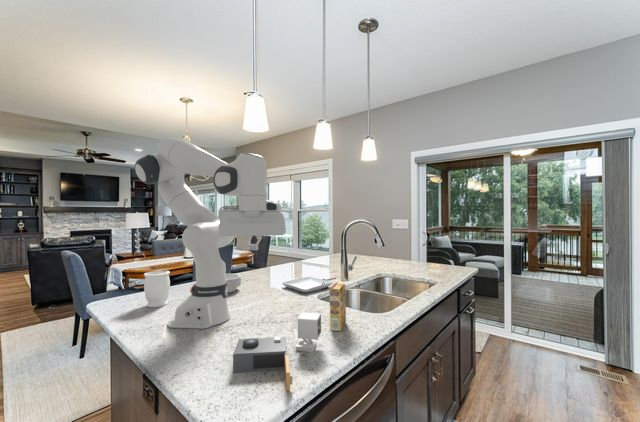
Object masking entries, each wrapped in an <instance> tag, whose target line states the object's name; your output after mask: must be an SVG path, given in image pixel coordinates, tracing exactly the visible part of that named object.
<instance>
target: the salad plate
mask: <svg viewBox="0 0 640 422" xmlns="http://www.w3.org/2000/svg"><path fill="white" fill-rule="evenodd" d="M323 280H324V283H325V284H323V285H322V283H323ZM333 283H334V282H333V281H330V280H325V279H321V278H318V277H317V278H316V277H312V276H305V277H301V278H296V279H292V280H287V281H283V282H281V284H282V285H283V286H284V287H285V288H288V289H291V290H295V291H298V292H302V293H305V294H306V293H310V292H311V293H312V292H315V291H319V290H322V288H323V289H326V288H329V287H330V286H332V285H333Z"/></svg>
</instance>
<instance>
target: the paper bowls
mask: <svg viewBox="0 0 640 422" xmlns="http://www.w3.org/2000/svg"><path fill="white" fill-rule="evenodd" d="M226 283H227V294H229V293H233V292H235V291H236V290H237V289H238V288H239V286H241V284H242V276H241V274H238V273H226Z"/></svg>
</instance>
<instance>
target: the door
mask: <svg viewBox="0 0 640 422" xmlns="http://www.w3.org/2000/svg"><path fill="white" fill-rule="evenodd" d="M284 373H285V385H286V386H285V387H286V392H290V391H291V385H293V373H291V371H290V359H289V352H287V351H286V353H285V369H284Z"/></svg>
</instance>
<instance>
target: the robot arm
mask: <svg viewBox="0 0 640 422" xmlns="http://www.w3.org/2000/svg"><path fill="white" fill-rule="evenodd" d="M156 152H157V153H156ZM156 152H155V153H153V154H146V155H144V156H142V157H141V158H139V159H137V160H136V162H135V164H134V170H135V173H136V176H137V178H138V179H139V180H140V182H142V183H144V184H146V185H155V184H159V185H158V192H159V194H160V197H161V198H162V200H163V202H164V203H165V204H166V206H167V207H168V208H169V209H170V211H171V212H172V214H174V216H175V217H176V218H177V219H178V221H179V222H180V223H181V224H182V225H185V226H187V227H186V228H185V229H184V231H183V233H182V238H181V239H182V244H183V245H184V247H185V248H186V249H187V250H188V251H189V252H190V253H191V256H192V258H193V261H194V265H195V283H194V284H192V287H190V289H189V290H190V291H189V293H190V295H189V296H187V298H185V299H184V300H182V301H181V302H180V304H178V306H177V307H176V309H175V313H174V316H172V317H171V318H170V319H169V320H168V322H167V327H168V328H171V329H172V328H174V329H204V330H205V329H209V328H211V327H213V326H217V325H220V324H223V323H225V322H227V321H228V320H229V319H230V318H231V315H230V311H229V307H228V306H229V305H228V298H227V297H228V293H227V283H226V274H227V272H226V262H225V261H224V260H223V259H222V258H221V255H220V251H219V248H224V247H226V246H228V245H229V244H231V243H232V241H234V239H235V236H237V237H238V236H239V237H240V236H241V237H243V236H244V237H243V238H244V239H243V241H245V242H246V245H247V250H248V251H259V244H260V242H261V240H262V238H263V236H284V235H285V234H286V232H287V229H286V219H285V215H284V214H283V212H281V211H282V205H281V204H280V203H278V202H274V201H272V200H268V193H267V183H268V168H267V162H266V160H265V157H263V156H262V155H260V154H255V153H253V152H252V153H250V152H242V153H240V154H239V155H238V156H237V158H235V160H234V161H232V162H230V163H229V162H227V161H224V160H222V159H220V158H218V157H216V156H214V155H213V154H211V153H210V152H208V151H206V150H204V149H202V147H199V146H198V145H195V144H194V143H191V142H189V141H188V140H185V139H182V138H179V137H173V136H168V137H165V138H162V139H160V141H159V142H158V144H157V146H156ZM192 175H193V176H201V177H202V176H203V177H212V178H213V179H212V180H213V186H214V190H216V192H218V193H219V194H220V195H224V196H229V197H230V196H231V197H232V196H233V197H237V200H238V201H237V205H223V206H222V207H220V208H219V209H218V213H217V215H216V214H215V213H214V211H212V210H210V209H209V208H208V207H207V206H206V205H205V204H204V203H203V202H202V201H201V200H200V199H199V197H198V196H197V195H196V194H195V192H194V191H193V190H192V189H191V188H190V187H189V186H188V184H187V183H186V181H185V179H189V178H190V177H191V176H192ZM251 236H256V240H257V241H256V243H251V242H250V240H249V239H250V238H251Z"/></svg>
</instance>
